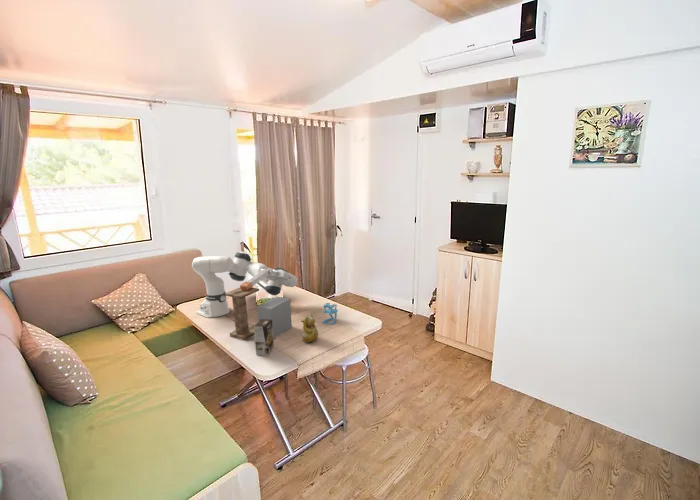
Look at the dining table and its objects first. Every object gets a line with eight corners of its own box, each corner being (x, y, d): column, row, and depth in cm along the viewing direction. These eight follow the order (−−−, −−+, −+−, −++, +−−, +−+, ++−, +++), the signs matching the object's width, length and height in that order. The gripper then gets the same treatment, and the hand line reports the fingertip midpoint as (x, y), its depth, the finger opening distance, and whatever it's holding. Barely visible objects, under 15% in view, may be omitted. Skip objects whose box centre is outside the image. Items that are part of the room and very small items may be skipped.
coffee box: (267, 356, 180) (265, 326, 176) (255, 355, 181) (253, 325, 177) (274, 347, 188) (272, 319, 185) (263, 346, 190) (261, 318, 186)
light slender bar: (240, 290, 201) (239, 285, 200) (268, 271, 220) (267, 267, 219) (246, 291, 199) (245, 286, 198) (273, 272, 218) (272, 268, 217)
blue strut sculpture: (339, 320, 220) (339, 301, 217) (332, 325, 213) (331, 306, 210) (329, 317, 224) (328, 299, 221) (321, 322, 217) (321, 304, 214)
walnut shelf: (230, 336, 202) (225, 293, 196) (247, 326, 214) (243, 286, 208) (245, 340, 197) (240, 296, 191) (262, 330, 209) (258, 288, 203)
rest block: (259, 335, 202) (256, 306, 198) (278, 324, 217) (276, 296, 213) (273, 339, 197) (270, 309, 193) (291, 327, 212) (289, 298, 208)
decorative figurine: (308, 335, 201) (307, 310, 197) (321, 337, 198) (320, 312, 194) (300, 343, 192) (298, 317, 189) (313, 345, 189) (312, 319, 186)
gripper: (292, 283, 222) (279, 278, 211) (267, 279, 232) (253, 274, 220) (294, 273, 224) (281, 268, 212) (269, 270, 233) (256, 264, 222)
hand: (267, 271), depth 216 cm, fingers closed on light slender bar, 3 cm apart
